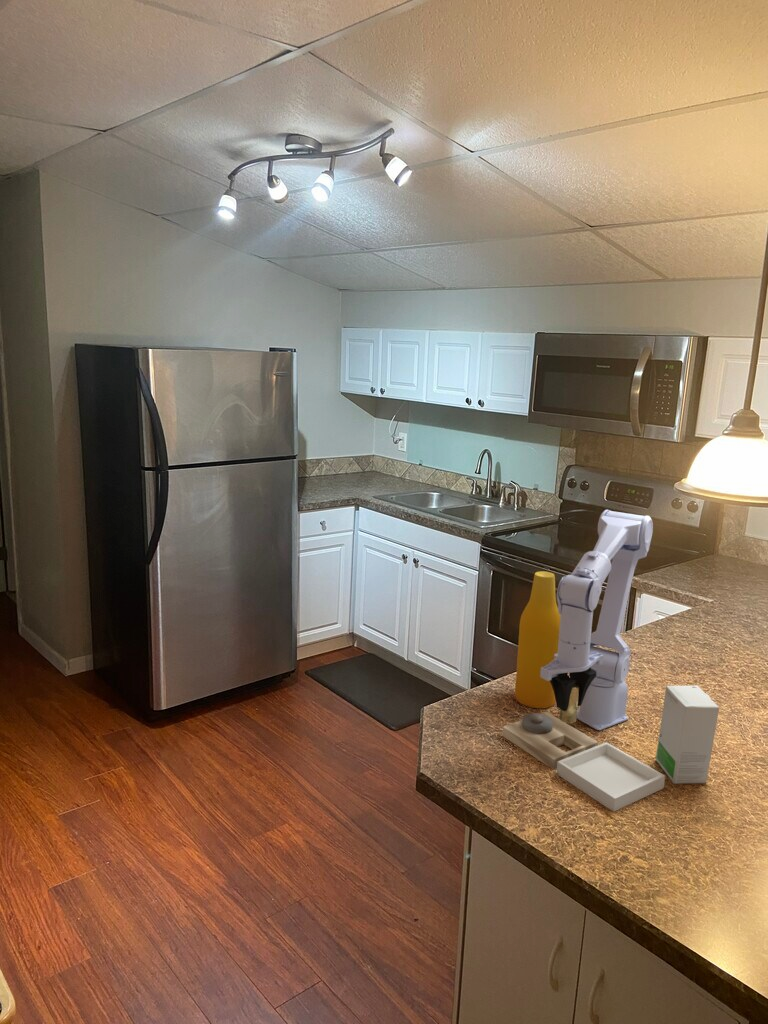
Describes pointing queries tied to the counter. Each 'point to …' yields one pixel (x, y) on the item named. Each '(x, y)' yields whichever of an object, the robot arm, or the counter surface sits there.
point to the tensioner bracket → (547, 738)
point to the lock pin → (571, 706)
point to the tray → (610, 776)
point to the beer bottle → (537, 643)
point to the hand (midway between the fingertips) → (568, 706)
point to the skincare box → (686, 734)
